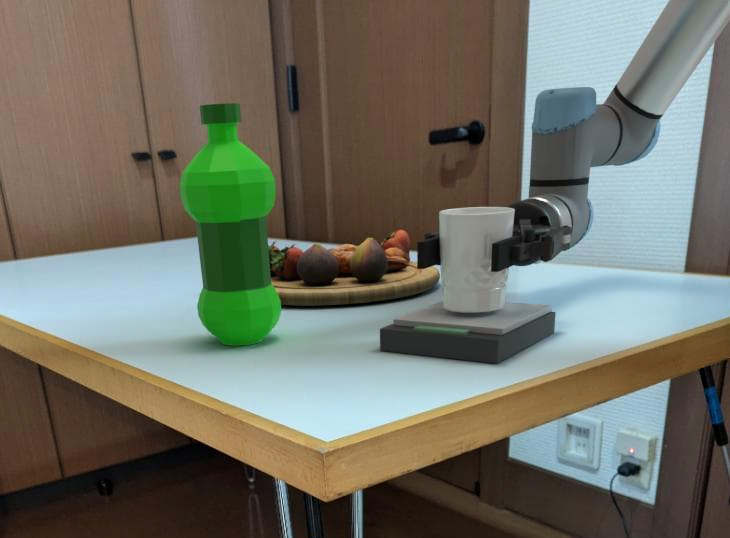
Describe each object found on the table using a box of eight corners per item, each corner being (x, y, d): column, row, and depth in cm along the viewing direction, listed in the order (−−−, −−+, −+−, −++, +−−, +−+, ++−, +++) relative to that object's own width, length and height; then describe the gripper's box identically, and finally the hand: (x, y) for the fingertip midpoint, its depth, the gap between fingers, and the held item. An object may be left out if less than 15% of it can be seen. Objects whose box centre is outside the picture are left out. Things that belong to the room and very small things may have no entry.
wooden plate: (381, 266, 144) (380, 217, 141) (480, 290, 118) (482, 231, 114) (210, 287, 133) (204, 234, 130) (278, 318, 107) (273, 253, 103)
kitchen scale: (554, 333, 91) (556, 305, 90) (497, 363, 81) (498, 332, 79) (445, 323, 99) (445, 297, 97) (380, 350, 88) (379, 322, 87)
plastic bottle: (269, 327, 102) (251, 105, 91) (295, 343, 93) (279, 99, 82) (192, 337, 99) (164, 109, 88) (211, 355, 90) (182, 103, 79)
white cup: (423, 310, 89) (424, 213, 84) (463, 298, 94) (466, 206, 89) (484, 317, 84) (488, 214, 79) (523, 304, 89) (529, 207, 84)
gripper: (612, 264, 96) (551, 299, 79) (454, 260, 106) (371, 289, 89) (619, 197, 93) (558, 218, 76) (455, 198, 103) (369, 217, 86)
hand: (457, 256), depth 82 cm, fingers closed on white cup, 8 cm apart
